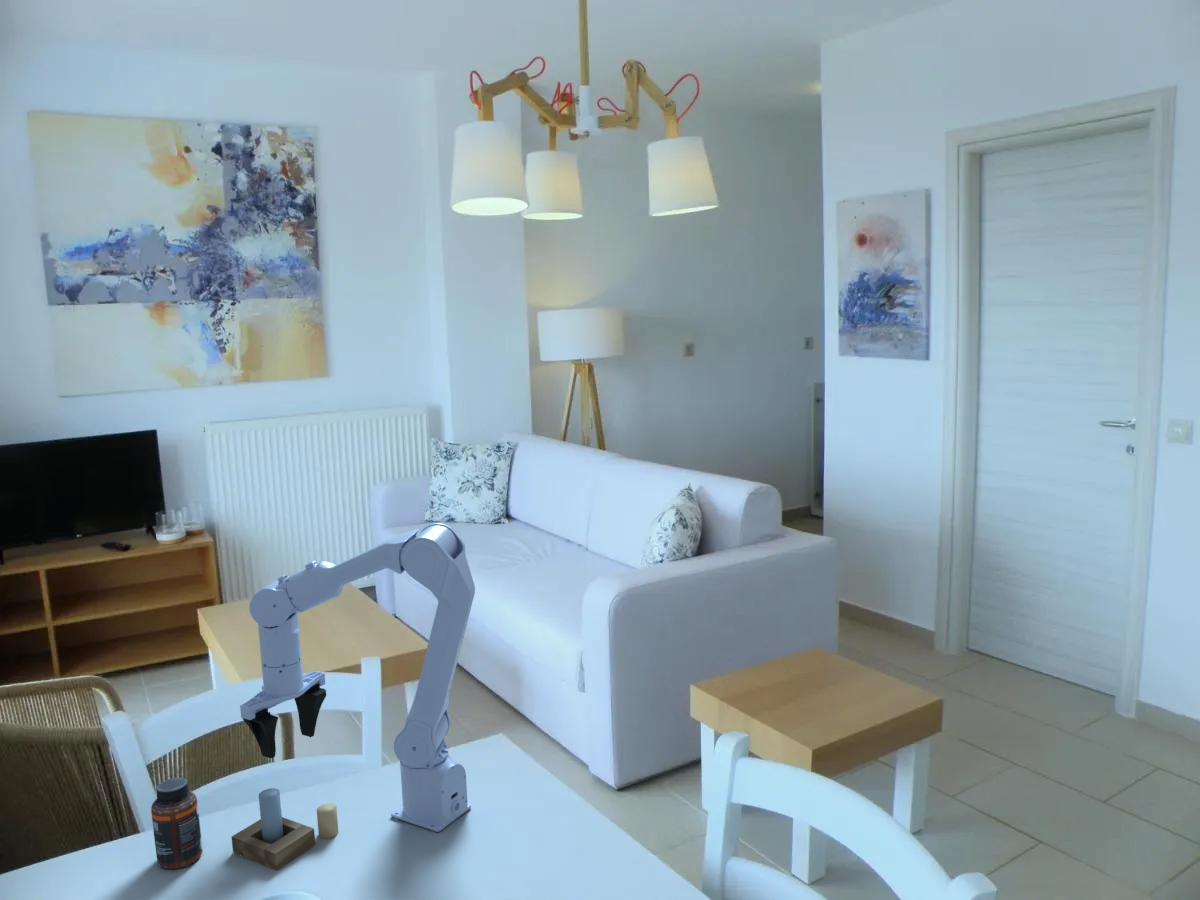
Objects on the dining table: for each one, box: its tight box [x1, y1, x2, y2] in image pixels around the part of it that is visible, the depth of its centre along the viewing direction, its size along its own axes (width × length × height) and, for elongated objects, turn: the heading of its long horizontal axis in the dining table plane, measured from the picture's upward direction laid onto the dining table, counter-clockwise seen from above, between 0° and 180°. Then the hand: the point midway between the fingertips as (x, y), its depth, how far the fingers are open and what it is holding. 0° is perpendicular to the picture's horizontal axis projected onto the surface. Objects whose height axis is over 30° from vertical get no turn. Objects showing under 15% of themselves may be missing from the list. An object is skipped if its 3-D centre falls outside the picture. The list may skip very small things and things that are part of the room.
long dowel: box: [258, 787, 283, 844], centre depth 134 cm, size 3×3×8 cm
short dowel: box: [316, 802, 339, 840], centre depth 138 cm, size 3×3×4 cm
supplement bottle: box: [150, 777, 203, 870], centre depth 132 cm, size 6×6×11 cm
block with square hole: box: [231, 816, 316, 871], centre depth 135 cm, size 9×7×2 cm
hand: (288, 745), depth 144 cm, fingers open, 7 cm apart
